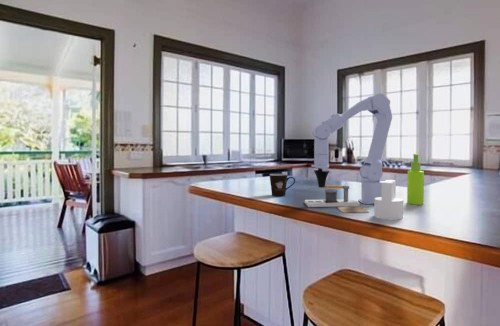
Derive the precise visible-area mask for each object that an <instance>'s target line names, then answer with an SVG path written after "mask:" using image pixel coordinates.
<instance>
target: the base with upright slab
mask: <svg viewBox="0 0 500 326" xmlns="http://www.w3.org/2000/svg"><path fill="white" fill-rule="evenodd" d="M383 181H384V182H382V197H377V198H375V199H374V209H373V212H374V218H377V219H380V220H386V219H388V220H390V221H396V220H397V219H399V220H403V219H404V199H403V198H401V197H396V195H397V194H396V187H397V186H396V185H397V184H396V183H397V182H396V181H397V180H396V179H385V180H383ZM402 218H403V219H402ZM388 220H387V221H388Z"/></svg>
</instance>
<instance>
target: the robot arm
mask: <svg viewBox="0 0 500 326" xmlns="http://www.w3.org/2000/svg"><path fill="white" fill-rule="evenodd" d="M390 105H391V100H390V99H389V97H388V96H387V95H386V94H385V93H376V94H375V95H371V96H370V95H369V96H368V97H367V98H364V99H362V100H360V101H358V102H357V103H355V104H354V105H353V106H352V107H350V108H348V109H347V110H345V111H344V112H343V113H341V114H340V113H333V114H331V115H330V117H329V118H327V119H326V120H325V121H324V120H323V121H321V124H318V125H316V126H315V127H314V128H313V132H312V136H313V138H314V143H313V145H314V148H313V151H314V153H313V154H314V155H313V156H314V158H313V159H314V161H313V164H311V167H312V168H315V169H314V170H313V172H314V174H315V175H316V176H315V177H316V180H317V186H319V187H324V186H325V185H326V181H327V177H328V174H329V173H330V170H329V168H330V163H329V162H330V160H329V156H330V155H329V150H330V149H329V148H330V147H329V138H330V135H331V134H333V133H335V132H337V131H338V130H339V129H341V128H343V127H344V126H346V122H347V121H348V120H349V119H351V118H353V117H354V116H356V115H357V114H359V113H361V112H362V111H363V112H364V111H368V112H369V113H370V114H372V115H373V116H374V117H375V119H376V124H375V128H374V131H373V135H372V139H371V143H370V147H369V149H368V150H369V151H368V155H367V157H366V158H365V160H363V164H362V165H361V167H360V169H359V170H358V171H359V176H360V177H361V181H360V182H361V186H360V187H361V192H360V193H361V199H357V202H360V203H362V204H363V205H369V204H370V205H372V204H374V199H375V198H377V197H382V182H384V181H385V180H381V178H382V177H383V165H384V164H383V161H382V157H383V153H384V151H385V150H384V149H385V146H386V142H387V138H388V135H389V131H390V127H391V123H392V120H393V113H392V110H391V106H390Z"/></svg>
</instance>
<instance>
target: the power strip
mask: <svg viewBox="0 0 500 326" xmlns="http://www.w3.org/2000/svg"><path fill="white" fill-rule="evenodd" d="M304 204H305V205H306V206H307V207H308V208H312V207H313V208H317V207H318V208H320V207H321V208H322V207H325V208H326V207H327V208H328V207H330V208H331V207H333V208H334V207H336V208H337V207H360V203H359V201H356V200H355V199H353V198H349V189H343V198H341V199H340V198H339V199H338V198H337V203H326V199H305V200H304Z"/></svg>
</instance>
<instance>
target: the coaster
mask: <svg viewBox="0 0 500 326" xmlns="http://www.w3.org/2000/svg"><path fill="white" fill-rule="evenodd" d="M336 209H338V210H339V211H340V212H341V213H342V214H362V213H363V214H366V213H368V214H369V211H368V210H366V209H365V208H364V207H362V206H336Z"/></svg>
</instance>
